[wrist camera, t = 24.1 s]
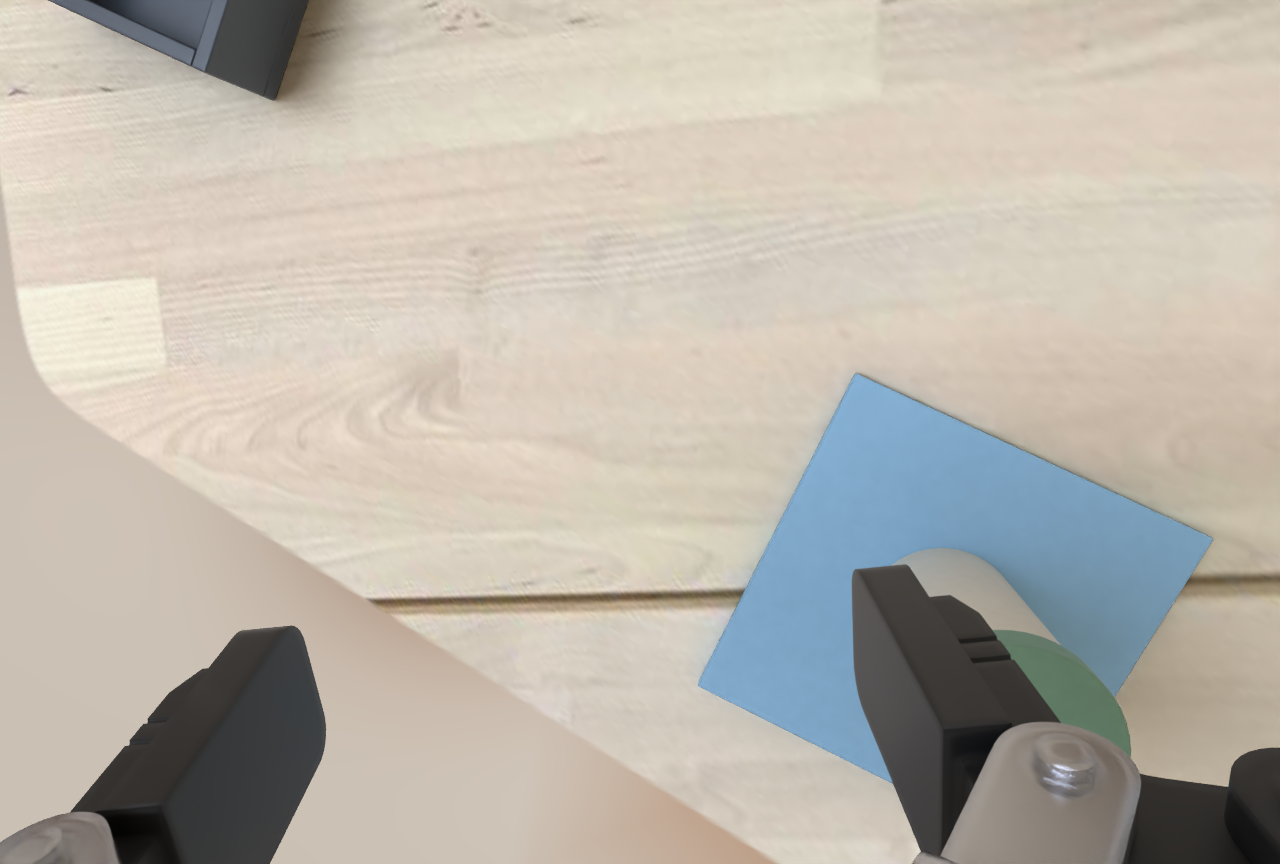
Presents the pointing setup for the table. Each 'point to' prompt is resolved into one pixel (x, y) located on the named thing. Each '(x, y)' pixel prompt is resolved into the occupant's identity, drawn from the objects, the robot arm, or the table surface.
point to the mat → (925, 519)
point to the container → (1024, 640)
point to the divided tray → (209, 34)
